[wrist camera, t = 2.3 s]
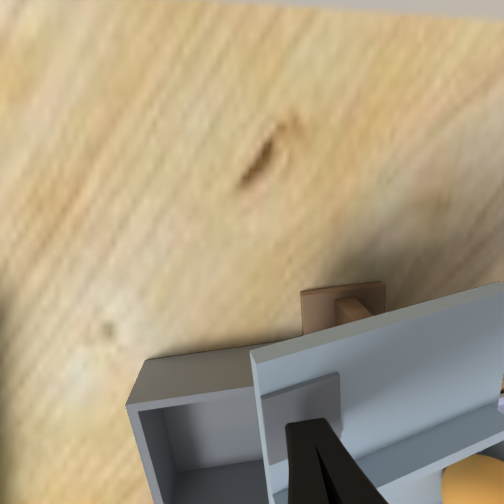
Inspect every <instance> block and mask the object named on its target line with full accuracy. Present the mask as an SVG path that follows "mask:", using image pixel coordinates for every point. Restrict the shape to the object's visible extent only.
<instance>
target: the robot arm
mask: <svg viewBox="0 0 504 504" xmlns="http://www.w3.org/2000/svg"><path fill="white" fill-rule="evenodd" d="M497 410H499V411H500V412H501V413H503V414H504V393H503V394H500V397H499V403H498V408H497ZM285 435H286V445H287V456H288V466H289V479H288V504H389V503H388V502H387V501H386V500H385V499H384V497H383V496H382V495H381V494H380V493H379V491H378V490H377V489H376V488H375V486H374V485H373V484H372V482H371V481H370V480H369V479H368V477H367V476H366V475H365V474H364V472H363V471H362V470H361V468H360V467H359V466H358V464H357V463H356V462H355V460H354V459H353V458H352V456H351V455H350V454H349V452H348V451H347V449H346V448H345V447H344V445H343V444H342V442H341V441H340V439H339V438H338V436H337V435H336V433H335V432H334V430H333V429H332V427H331V426H330V424H329V422H328V421H327V419H325V418H324V417H323V418H317V419H311V420H304V421H298V422H291V423H287V424H286V425H285Z"/></svg>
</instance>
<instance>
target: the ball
mask: <svg viewBox="0 0 504 504" xmlns="http://www.w3.org/2000/svg"><path fill="white" fill-rule="evenodd" d="M441 497H442V502H443V504H504V462H503V461H501V460H499V459H497V458H494V457H490V456H487V455H480V454H473V455H471V456H469V457H466V458H464V459H462V460H460V461H458V462H456V463H454V464H451V465H449V466H448V467H447V468H446V470H445V472H444V474H443V477H442V481H441Z"/></svg>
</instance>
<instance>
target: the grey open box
mask: <svg viewBox="0 0 504 504" xmlns="http://www.w3.org/2000/svg"><path fill="white" fill-rule="evenodd" d="M279 342H282V341H279ZM275 343H278V342H272V343H265V344H258V345H251V346H244V347H237V348H229V349H222V350H215V351H208V352H201V353H194V354H187V355H180V356H173V357H166V358H159V359H152V360H145V361H144V364H143V366H142V368H141V371H140V373H139V375H138V377H137V380H136V382H135V384H134V386H133V389H132V391H131V393H130V396H129V398H128V400H127V402H126V405H125V406H126V409H127V412H128V416H129V419H130V423H131V426H132V429H133V433H134V436H135V440H136V443H137V446H138V450H139V453H140V457H141V460H142V463H143V467H144V470H145V474H146V477H147V480H148V484H149V487H150V491H151V494H152V497H153V501H154V504H269V498H268V491H267V483H266V475H265V467H264V459H263V452H262V444H261V436H260V428H259V421H258V413H257V405H256V397H255V389H254V382H253V374H252V366H251V358H250V350H253V349H257V348H260V347H264V346H268V345H271V344H275Z"/></svg>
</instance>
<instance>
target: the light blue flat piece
mask: <svg viewBox="0 0 504 504" xmlns="http://www.w3.org/2000/svg"><path fill="white" fill-rule="evenodd" d="M250 358H251V366H252V374H253V382H254V389H255V397H256V405H257V413H258V421H259V428H260V436H261V444H262V452H263V459H264V467H265V475H266V483H267V491H268V498H269V504H288V479H289V466H288V456H287V445H286V435H285V425H286V424H287V423H291V422H298V421H304V420H311V419H317V418H323V417H324V418H325V419H327V421H328V422H329V424H330V426H331V427H332V429H333V430H334V432H335V433H336V435H337V436H338V438H339V439H340V441H341V442H342V444H343V445H344V447H345V448H346V449H347V451H348V452H349V454H350V455H351V456H352V458H353V459H354V460H355V462H356V463H357V464H358V466H359V467H360V468H361V470H362V471H363V472H364V474H365V475H366V476H367V477H368V479H369V480H370V481H371V482H372V484H373V485H374V486H375V488H376V489H377V490H378V491H379V493H380V494H381V495H382V496H383V497H384V499H385V500H386V501H387V502H388V503H389V504H443V502H442V497H441V481H442V477H443V474H444V472H445V470H446V468H447V467H448V466H449V465H451V464H454V463H456V462H458V461H460V460H462V459H464V458H466V457H469V456H471V455H473V454H480V455H487V456H490V457H494V458H497V459H499V460H501V461H503V462H504V414H503V413H501V412H500V411H499V410H497V408H498V403H499V397H500V391H501V386H502V380H503V375H504V283H502V282H499V281H498V282H495V283H491V284H488V285H484V286H480V287H477V288H473V289H470V290H466V291H462V292H459V293H455V294H451V295H448V296H444V297H441V298H437V299H433V300H430V301H426V302H423V303H419V304H415V305H412V306H408V307H405V308H401V309H397V310H394V311H390V312H387V313H383V314H379V315H376V316H372V317H369V318H365V319H361V320H358V321H354V322H350V323H347V324H343V325H340V326H336V327H332V328H329V329H325V330H322V331H318V332H314V333H311V334H307V335H304V336H300V337H296V338H293V339H289V340H286V341H282V342H278V343H275V344H271V345H268V346H264V347H260V348H257V349H253V350H250Z"/></svg>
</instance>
